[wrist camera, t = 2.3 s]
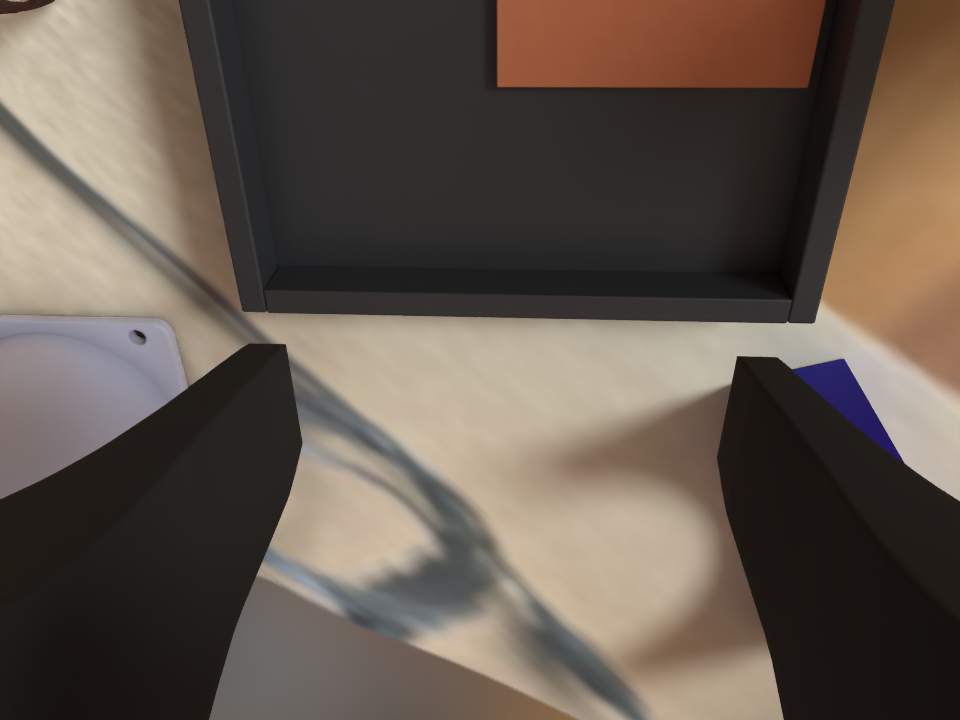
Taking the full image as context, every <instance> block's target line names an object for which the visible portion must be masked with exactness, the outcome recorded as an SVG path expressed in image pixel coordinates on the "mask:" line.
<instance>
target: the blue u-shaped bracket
mask: <svg viewBox="0 0 960 720" xmlns="http://www.w3.org/2000/svg"><path fill="white" fill-rule="evenodd" d="M793 371H794V372H795V373H796V374H797V375H799V376H800V377H801V378H802V379H803V380H804V381H805V382H807V383H808V384H809V385H810V386H811V387H812V388H813V389H814V390H816V391H817V392H818V393H819V394H820V395H821V396H822V397H823V398H825V399H826V400H827V401H828V402H829V403H830V404H831V405H833V406H834V407H835V408H836V409H837V410H838V411H839V412H841V413H842V414H843V415H844V416H845V417H846V418H848V419H849V420H850V421H851V422H852V423H854V424H855V425H856V426H857V427H858V428H860V429H861V430H862V431H863V432H864V433H866V434H867V435H868V436H869V437H871V438H872V439H873V440H874V441H876V442H877V443H878V444H879V445H881V446H882V447H883V448H884V449H886V450H887V451H888V452H890V453H891V454H892V455H894V456H895V457H896V458H898V459H899V460H900V461H902V462H903V460H902V458H901V457H900V455H899V453H898V451H897V450H896V448H895V446H894V444H893V443H892V441H891V439H890V438H889V436H888V434H887V432H886V431H885V429H884V427H883V425H882V424H881V422H880V420H879V418H878V417H877V415H876V413H875V412H874V410H873V408H872V406H871V405H870V403H869V401H868V399H867V398H866V396H865V394H864V392H863V391H862V389H861V387H860V386H859V384H858V382H857V380H856V379H855V377H854V375H853V373H852V372H851V370H850V368H849V366H848V365H847V363H846V361H845V359H842V360H837V361H833V362H828V363H823V364H819V365H814V366H810V367H805V368H800V369H796V370H793ZM903 463H904V462H903Z"/></svg>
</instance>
